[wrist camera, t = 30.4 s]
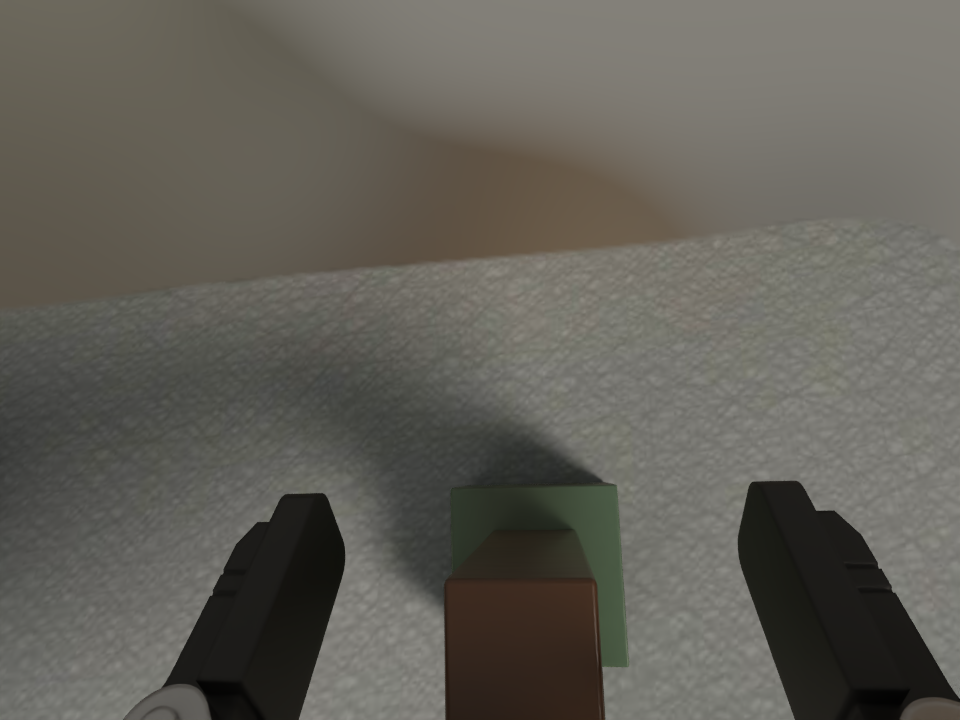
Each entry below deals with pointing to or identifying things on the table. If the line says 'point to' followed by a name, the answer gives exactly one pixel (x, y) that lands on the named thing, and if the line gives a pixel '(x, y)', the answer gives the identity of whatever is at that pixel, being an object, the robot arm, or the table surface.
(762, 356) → the table surface
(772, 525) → the robot arm
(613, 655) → the green-headed mallet
